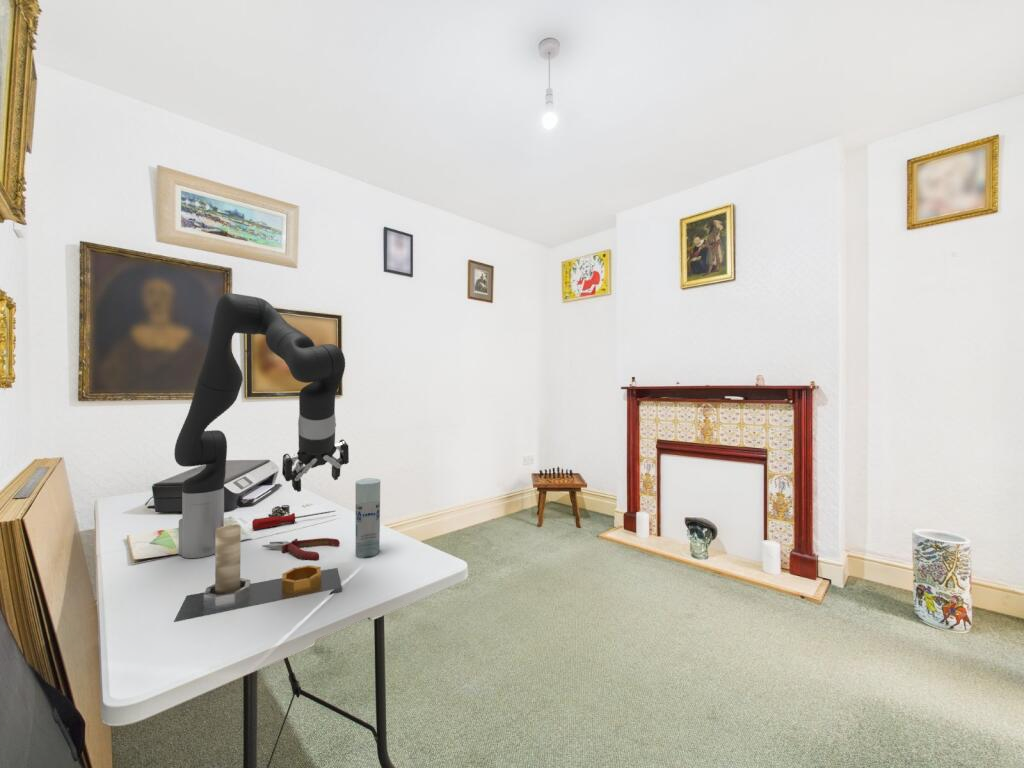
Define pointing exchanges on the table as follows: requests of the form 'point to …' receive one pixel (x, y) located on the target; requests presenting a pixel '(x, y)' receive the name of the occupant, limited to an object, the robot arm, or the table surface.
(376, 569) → the table surface
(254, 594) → the grey board
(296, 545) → the pliers
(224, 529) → the peg
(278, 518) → the screwdriver
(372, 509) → the spray paint can
